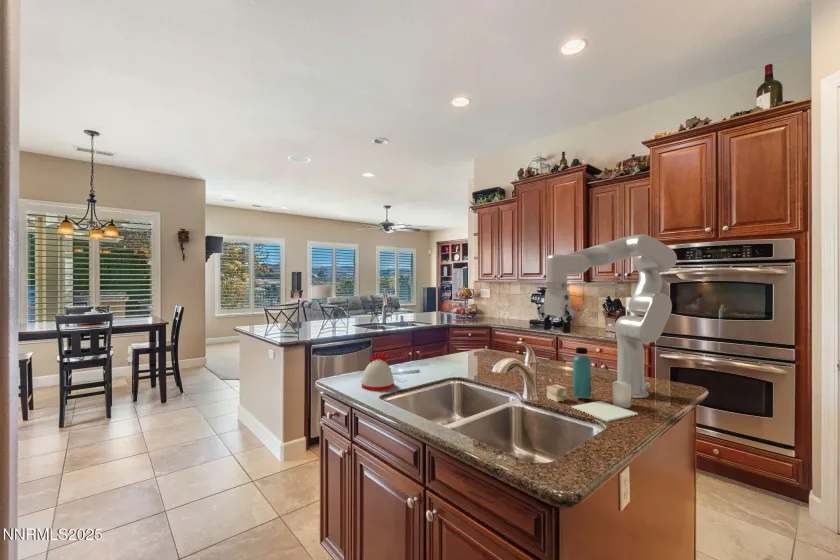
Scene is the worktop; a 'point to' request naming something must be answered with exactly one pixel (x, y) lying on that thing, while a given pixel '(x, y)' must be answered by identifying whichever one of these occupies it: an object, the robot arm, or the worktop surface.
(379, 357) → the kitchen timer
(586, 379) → the beverage bottle
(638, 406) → the worktop surface
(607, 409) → the sage mat
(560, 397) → the birch block
